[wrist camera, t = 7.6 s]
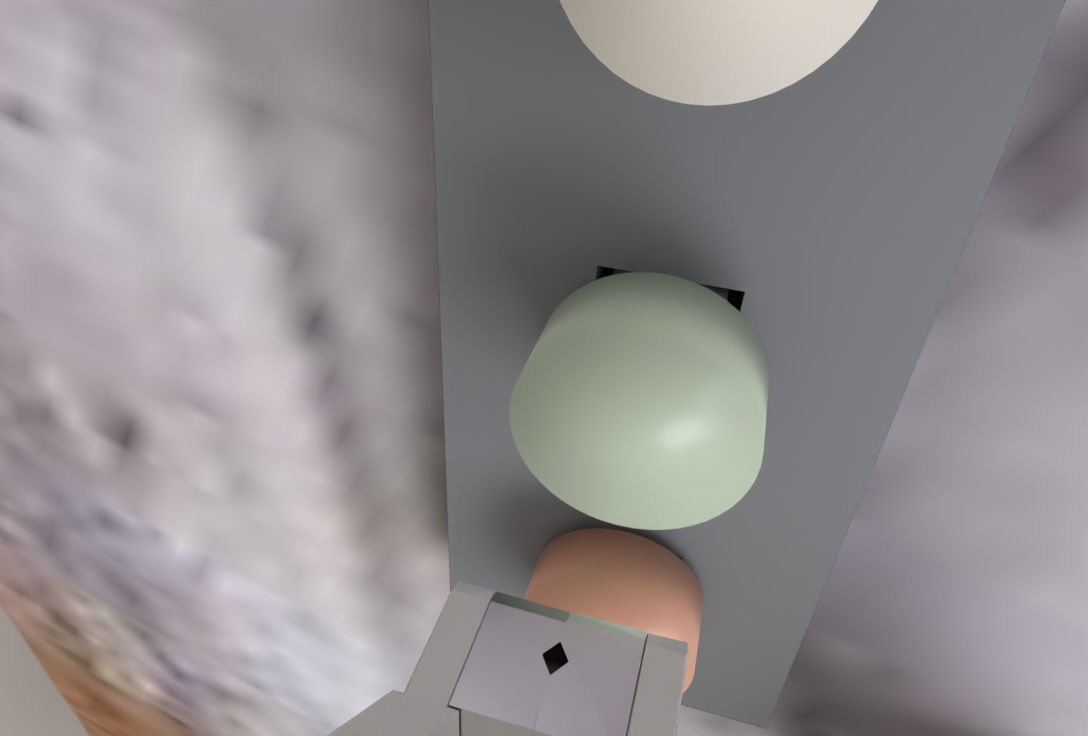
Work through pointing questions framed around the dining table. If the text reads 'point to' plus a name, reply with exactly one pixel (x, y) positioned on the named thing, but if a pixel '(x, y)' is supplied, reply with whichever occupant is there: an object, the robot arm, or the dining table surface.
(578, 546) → the orange rounded lump
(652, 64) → the white round dome
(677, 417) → the sage button
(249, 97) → the dining table surface
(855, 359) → the console
